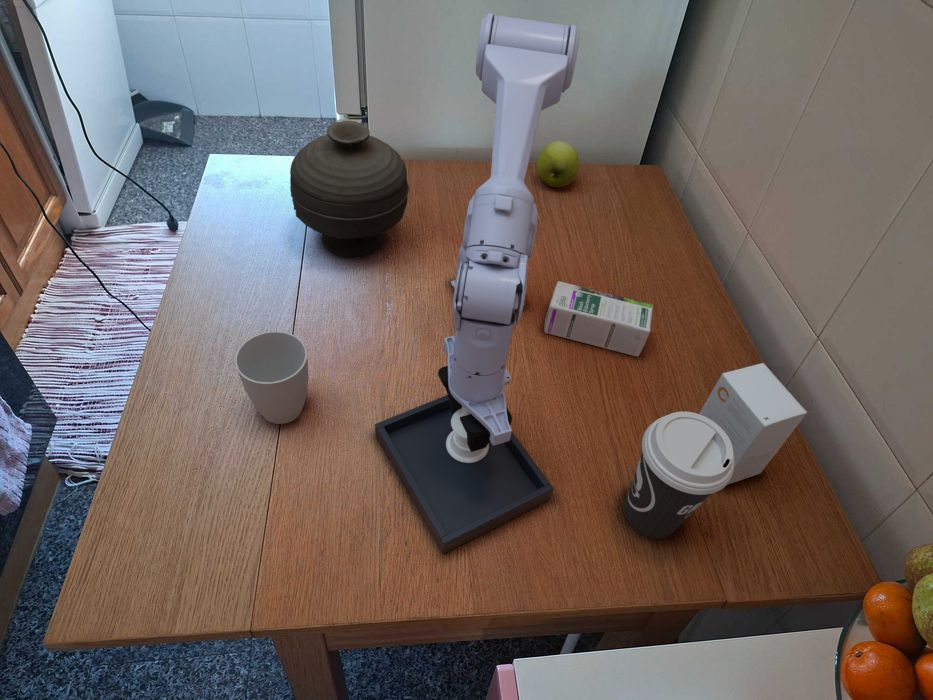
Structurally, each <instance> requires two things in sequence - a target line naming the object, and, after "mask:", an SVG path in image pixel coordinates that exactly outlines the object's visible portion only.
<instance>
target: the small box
mask: <svg viewBox="0 0 933 700" xmlns="http://www.w3.org/2000/svg"><path fill="white" fill-rule="evenodd" d="M698 414H700V415H702V416H705V417H707V418H709V419H710V420H712V421H713V422H715V423H716V424H717V425H719V426H720V427H721V428H722V429H723V430H724V432H725V433H726V434H727V436H728V437H729V439H730V441H731V444H732V447H733V454H734V471H733V475H732V478H731V480H730V481H729V483H728V484H727V485H731V484H733V483H736V482H739V481H740V482H741V481H743V480H746V479H748V478H751V477H754V476H757V475H760V474H761V473H762V472H763V471H764V470H765V468H766V467H767V466H768V464H769V463H770V462H771V460H772V459H773V458H774V457H775V455H776V454H777V453H778V452H779V451H780V449H781V448H782V447H783V445H784V444H785V442H786V441H787V440H788V439H789V437H790V436H791V435H792V433H793V432H794V431H795V429H796V428H797V427H798V425H799V424H800V423H801V422H802V421H803V419H804V418H805V417H806V415H807V414H808V411H807V410H806V409H805V408H804V407H803V406H802V405H801V404H800V403H799V401H798V400H797V399H796V398H795V397H794V396H793V395H792V393H791V392H790V391H789V390H788V389H787V388H786V387H785V386H784V384H783V383H782V382H781V381H780V380H779V379H778V378H777V376H776V375H775V374H774V373H773V371H772V370H770V368H769V367H768V366H767V364H765V363H764V362H760V363H757V364H754V365H749V366H746V367H742V368H738V369H734V370H730V371H726V372H722V373H721V375H720V377H719V378H718V380H717V382H716V383H715V385H714V386H713V389H712V391H711V392H710V394H709V396H708V397H707V398H706V401H704V404H703V406H702V407H701V409H700V411H699V413H698ZM727 485H726V486H727Z"/></svg>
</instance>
